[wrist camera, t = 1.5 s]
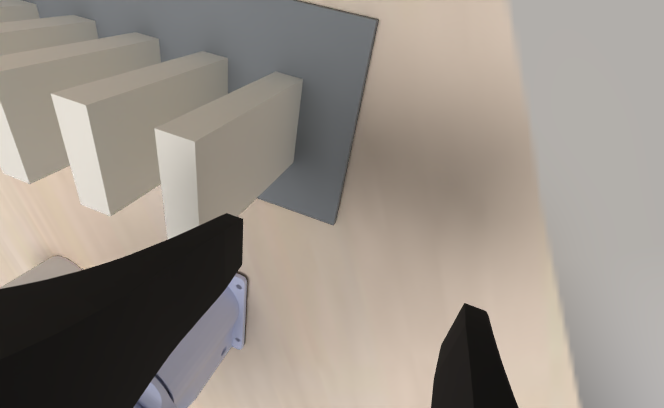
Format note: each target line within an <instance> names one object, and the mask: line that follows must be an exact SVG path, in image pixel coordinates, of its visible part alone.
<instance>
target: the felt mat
mask: <svg viewBox="0 0 664 408" xmlns="http://www.w3.org/2000/svg"><path fill="white" fill-rule="evenodd" d="M22 1H26V2H29V3H33V4H36V6H37V10H38V14H39V17H40V18H49V17H58V16H68V15H76V16H79V17H83V18H86V19H90V20H94V21H95V23H96V29H97V34H98V39H99V38H105V37H111V36H117V35H123V34H128V33H134V32H136V33H140V34H144V35H147V36H151V37H154V38H158V39H159V46H160V57H161V63H162V62H165V61H169V60H172V59H176V58H180V57H183V56H187V55H190V54H194V53H198V52H201V51H204V52H208V53H211V54H215V55H218V56H222V57H226V58H228V94H229V93H231V92H233V91H235V90H237V89H239V88H241V87H244V86H246V85H248V84H250V83H252V82H254V81H256V80H259V79H261V78H263V77H265V76H267V75H269V74H271V73H274V72H279V73H283V74H286V75H290V76H293V77H297V78H301V79H303V84H302V93H301V101H300V110H299V119H298V127H297V136H296V144H295V153H294V161H293V163H292V164H291V165H290V166H289V167H288V168H287V169H286V170H285V171H284V172H283V173H282V174H281V175H280V176H279V177H278V178H277V179H276V180H275V181H274V182H273V183H272V184H271V185H270V186H269V187H268V188H267V189H265V190H264V191H263V192H262V193H261V194H260V195H259V196H258V197H257V198H258V199H261V200H264V201H267V202H269V203H272V204H275V205H278V206H281V207H283V208H286V209H289V210H292V211H295V212H297V213H300V214H303V215H306V216H309V217H311V218H314V219H317V220H320V221H323V222H325V223H328V224H331V225H334V224H335V222H336V218H337V213H338V208H339V204H340V199H341V194H342V189H343V185H344V180H345V175H346V171H347V166H348V161H349V156H350V152H351V147H352V142H353V138H354V133H355V128H356V123H357V119H358V114H359V109H360V105H361V100H362V95H363V91H364V86H365V81H366V76H367V72H368V67H369V62H370V58H371V53H372V48H373V43H374V39H375V34H376V29H377V25H378V19H374V18H370V17H366V16H362V15H357V14H353V13H349V12H345V11H340V10H336V9H332V8H328V7H324V6H319V5H315V4H311V3H307V2H302V1H298V0H22Z"/></svg>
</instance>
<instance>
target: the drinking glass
mask: <svg viewBox="0 0 664 408" xmlns="http://www.w3.org/2000/svg"><path fill="white" fill-rule="evenodd" d="M81 270H82V269H80V268H79V267H78V266H77V265H76V264H75V263H73V262H72V261H70V260H69V259H67V258H64V257H61V256H52V257H51V258H49V259H47V260H46V261H44V262H42V263H41V264H39V265H37V266H36V267H34V268H32V269H31V270H29V271H27V272H26V273H24V274H22V275H21V276H19V277H17V278H16V279H14V280H12V281H10V282H9V283H7V284H5V285H4V286H2V287H0V289H2V288H7V287H13V286H18V285H23V284H28V283H33V282H37V281H42V280H46V279H50V278H54V277H58V276H62V275H66V274H70V273H74V272H77V271H81Z"/></svg>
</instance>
